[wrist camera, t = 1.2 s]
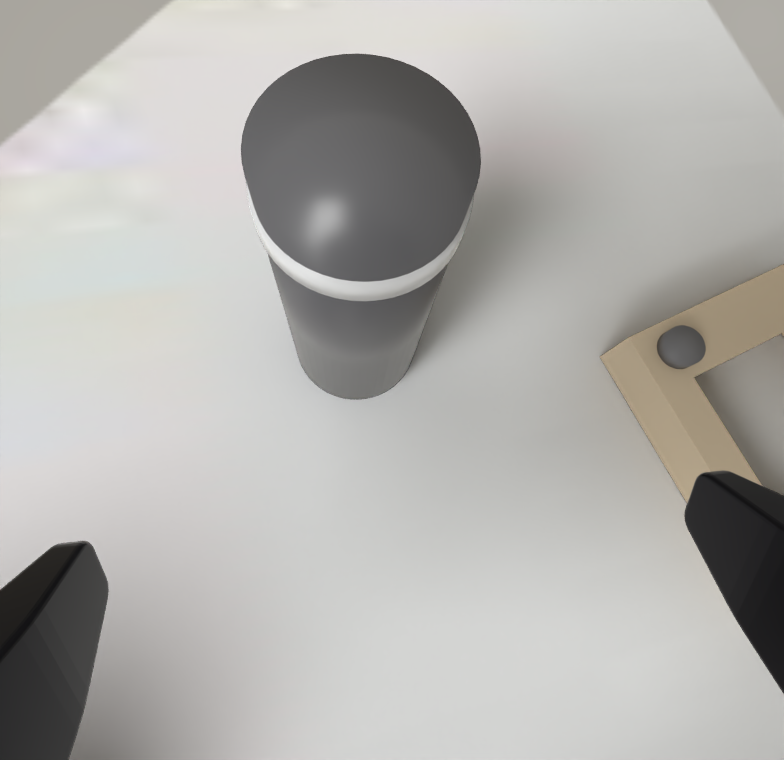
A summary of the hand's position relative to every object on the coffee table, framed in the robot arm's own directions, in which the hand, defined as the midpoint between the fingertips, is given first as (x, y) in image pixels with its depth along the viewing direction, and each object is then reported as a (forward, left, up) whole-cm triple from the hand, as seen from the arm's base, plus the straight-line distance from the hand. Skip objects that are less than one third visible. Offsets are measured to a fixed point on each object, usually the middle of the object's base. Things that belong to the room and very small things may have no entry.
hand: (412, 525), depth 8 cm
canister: (+7, -3, -13) cm, 15 cm away
